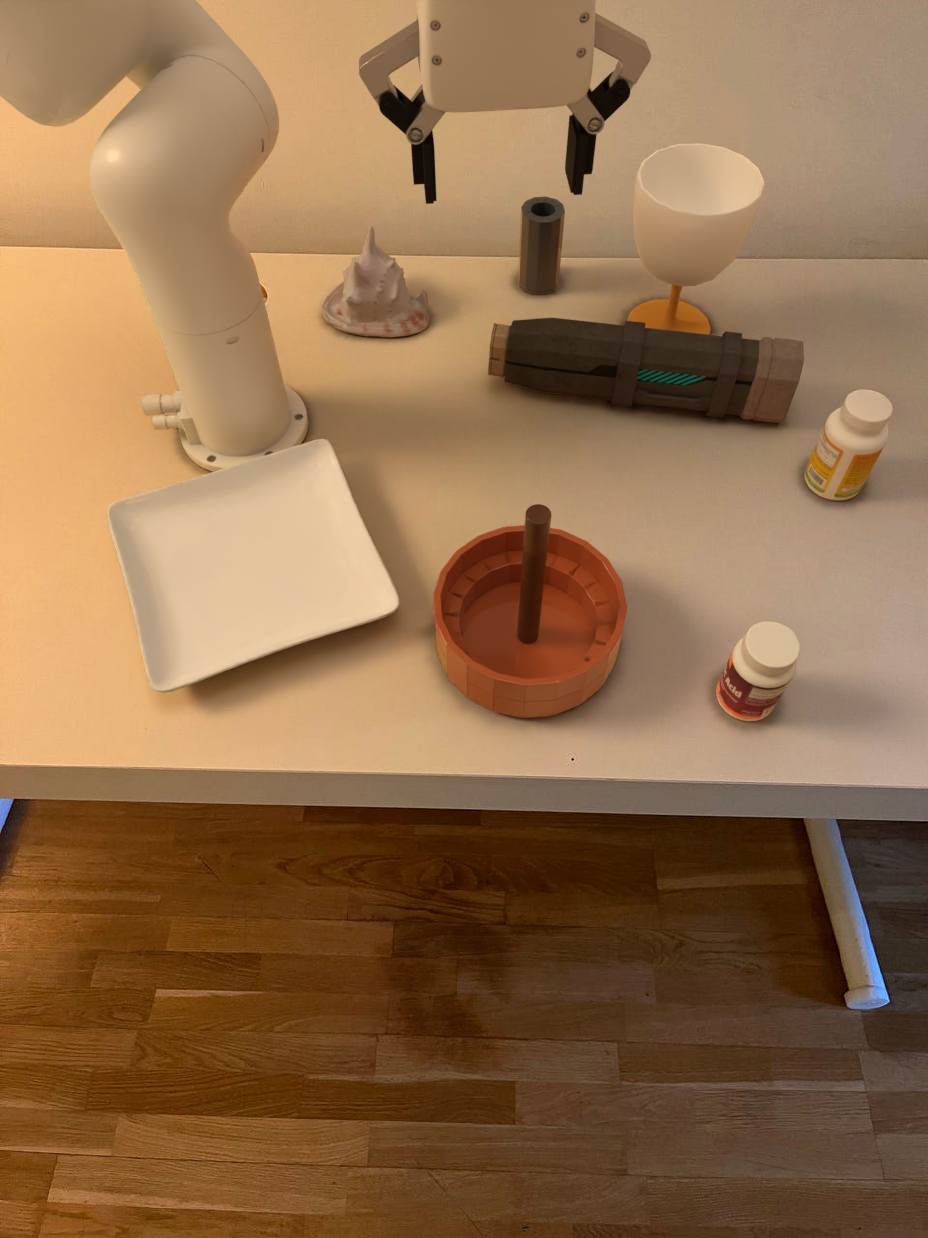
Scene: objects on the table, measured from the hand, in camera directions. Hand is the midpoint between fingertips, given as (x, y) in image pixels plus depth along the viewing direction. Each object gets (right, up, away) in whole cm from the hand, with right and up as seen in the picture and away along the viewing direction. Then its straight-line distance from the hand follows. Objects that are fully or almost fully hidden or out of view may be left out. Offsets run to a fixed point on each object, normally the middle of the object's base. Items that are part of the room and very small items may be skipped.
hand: (501, 187), depth 60 cm
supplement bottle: (+32, -16, +26) cm, 44 cm away
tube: (+15, -6, +32) cm, 36 cm away
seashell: (-12, +5, +40) cm, 42 cm away
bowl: (+3, -31, +16) cm, 35 cm away
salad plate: (-21, -25, +20) cm, 39 cm away
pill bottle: (+20, -35, +13) cm, 43 cm away
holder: (+6, +9, +42) cm, 43 cm away
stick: (+3, -30, +16) cm, 34 cm away
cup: (+20, +3, +38) cm, 43 cm away
